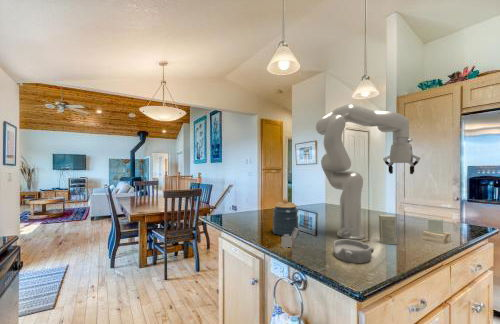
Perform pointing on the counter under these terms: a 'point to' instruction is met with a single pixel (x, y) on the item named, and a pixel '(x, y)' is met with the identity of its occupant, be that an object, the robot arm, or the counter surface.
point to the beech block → (437, 237)
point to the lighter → (288, 239)
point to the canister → (285, 218)
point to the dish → (352, 250)
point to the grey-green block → (435, 225)
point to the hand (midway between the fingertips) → (401, 173)
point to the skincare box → (387, 229)
